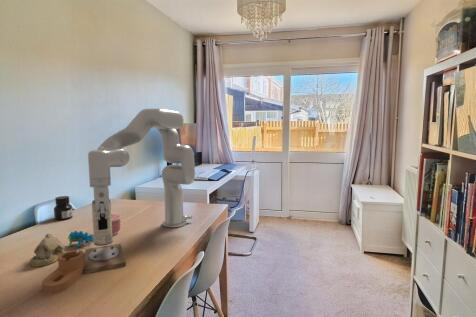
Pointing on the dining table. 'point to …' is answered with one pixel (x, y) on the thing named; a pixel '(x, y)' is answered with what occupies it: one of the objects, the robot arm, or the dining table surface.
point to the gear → (79, 237)
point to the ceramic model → (47, 251)
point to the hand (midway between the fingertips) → (102, 226)
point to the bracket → (65, 272)
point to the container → (115, 223)
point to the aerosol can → (102, 235)
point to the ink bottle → (62, 208)
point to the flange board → (104, 258)
